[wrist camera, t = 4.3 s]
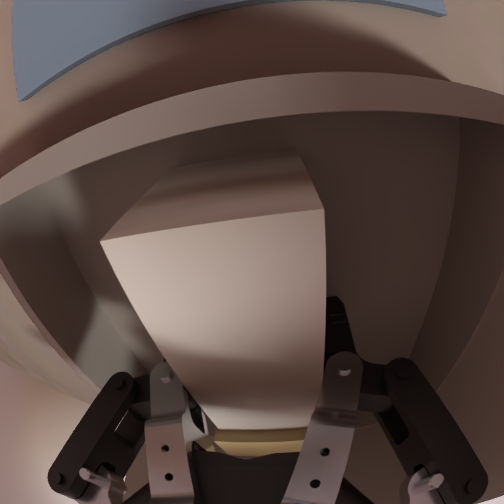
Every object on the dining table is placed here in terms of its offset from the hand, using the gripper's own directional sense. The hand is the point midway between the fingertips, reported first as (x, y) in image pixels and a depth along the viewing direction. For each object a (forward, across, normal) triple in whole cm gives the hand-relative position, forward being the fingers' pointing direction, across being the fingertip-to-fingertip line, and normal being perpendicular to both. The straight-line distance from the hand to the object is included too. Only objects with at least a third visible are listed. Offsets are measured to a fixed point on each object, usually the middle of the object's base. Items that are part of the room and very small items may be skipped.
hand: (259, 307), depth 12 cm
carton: (+1, +3, 0) cm, 3 cm away
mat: (+1, 0, -17) cm, 17 cm away
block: (0, 0, -1) cm, 1 cm away
